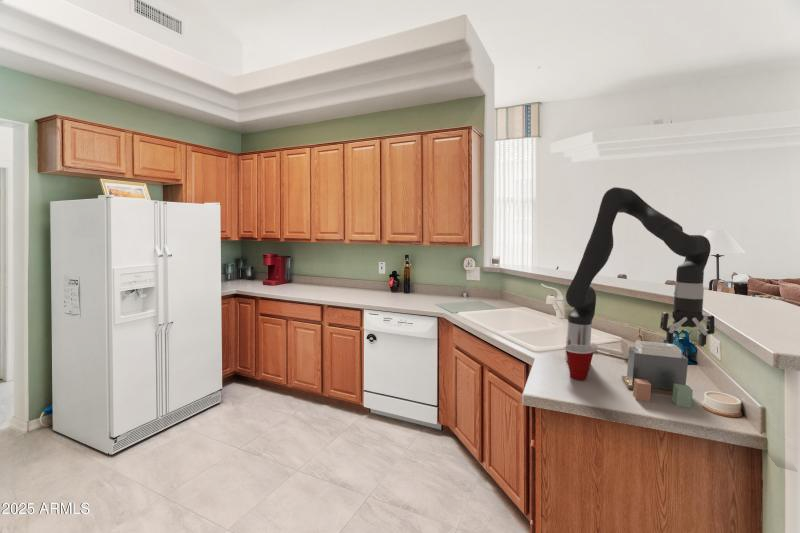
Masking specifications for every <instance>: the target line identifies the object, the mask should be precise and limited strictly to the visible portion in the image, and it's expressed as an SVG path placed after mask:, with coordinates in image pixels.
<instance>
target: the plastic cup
mask: <svg viewBox="0 0 800 533" xmlns="http://www.w3.org/2000/svg"><path fill="white" fill-rule="evenodd" d="M563 347H564V348H563V349H564V350H565V353H567V358H568V362H567V365H568V369H569V371H568V372H569V377H570V378H571V379H573V380H576V381H586V380H587V378H588V375H589V372H590V368H591V363H592V360H593V356H594V353H596V352H595V349H594V348H593V347H590V346H585V345H567V346H566V345H565V346H563Z"/></svg>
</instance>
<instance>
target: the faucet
mask: <svg viewBox="0 0 800 533" xmlns="http://www.w3.org/2000/svg"><path fill="white" fill-rule="evenodd" d="M607 338H608V339H611V337H610V336H609V337H606V339H607ZM613 339H614V340H617V341H618V340H619V341H620V343H619V345H620V349H621V350H619V349H615V348H611V347H609V348H608V347H605V346H604V347H603V346H599V345H598V344H597V343H596V342H593V341H590V347H593V348H594V349H595V352H594V353H596V352H598V351H600V352H601V351H602V352H604V353H608V354H610V355H613V356H619V357H623V359H624V360H628V356H629V347H630V346H629V344H628V342H627V341H626V340H624V339H623V338H620V337H613Z"/></svg>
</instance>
